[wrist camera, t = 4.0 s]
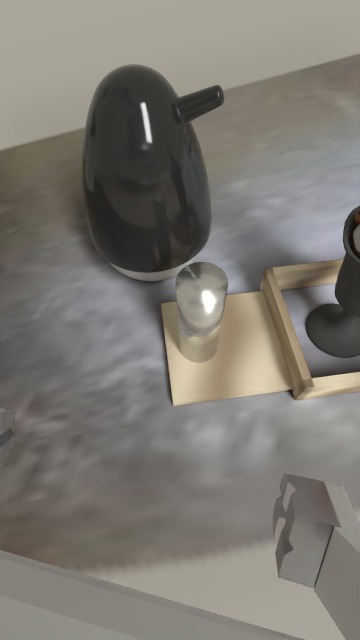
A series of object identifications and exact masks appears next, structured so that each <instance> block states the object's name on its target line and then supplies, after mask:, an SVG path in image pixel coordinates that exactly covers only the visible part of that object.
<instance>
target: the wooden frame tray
mask: <svg viewBox="0 0 360 640" xmlns="http://www.w3.org/2000/svg"><path fill="white" fill-rule="evenodd" d="M343 260H344V259H340V260H331V261H323V262H314V263H306V264H297V265H289V266H281V267H272V268H265V270H264V273H263V277H262V280H261V283H260V290H261V291H258V292H250V293H242V294H234V295H227V289H228V278H227V276H226V274H225V273H224V271H223V270H222V269H221V268H219V267H218V266H216V265H214V264H211V263H207V262H196V263H192V264H189V265H187V266H185V267H184V268H183V269H182V270H181V271H180V272H179V273H178V275H177V277H176V298H177V301H176V302H168V303H161V308H162V317H163V325H164V333H165V341H166V349H167V357H168V366H169V374H170V382H171V390H172V398H173V406H176V405H183V404H190V403H198V402H205V401H212V400H220V399H227V398H234V397H242V396H249V395H256V394H264V393H271V392H278V391H286V390H292V391H293V394H294V397H295V400H301V399H308V398H316V397H323V396H330V395H337V394H345V393H352V392H359V391H360V372H355V373H348V374H340V375H333V376H325V377H318V378H311V375H310V372H309V369H308V367H307V364H306V361H305V358H304V355H303V353H302V350H301V347H300V344H299V341H298V339H297V336H296V333H295V330H294V327H293V325H292V322H291V319H290V316H289V313H288V310H287V308H286V305H285V302H284V299H283V296H282V294H281V291H280V290H286V289H294V288H302V287H311V286H319V285H327V284H335V283H336V281H337V277H338V273H339V270H340V268H341V265H342V262H343Z"/></svg>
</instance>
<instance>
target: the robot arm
mask: <svg viewBox="0 0 360 640" xmlns="http://www.w3.org/2000/svg"><path fill="white" fill-rule="evenodd" d="M14 423H15V415H14V412H13V411H12V410H11V409H9V408H5V407H1V406H0V466H1V465H2V464H3V463H4V462H5V461H6V460H7V459H8V457H9V455H10V453H11V452H12V449H13V445H14V434H13V432H12V430H11V429H10V427H11V426H12V425H13V424H14ZM280 490H281V496H280V497H278V498H277V499H276V503H275V507H274V514H273V535H274V538H275V540H276V541H277V542H278V545H277V549H276V561H277V569H278V577H279V578H282V579H285V580H289V581H292V582H296V583H299V584H302V585H305V586H308V587H312V588H315V589H314V591H315V592H316V594H317V595H318V597H319V598H320V600H321V602H322V603H323V605H324V606H325V608H326V609H327V611H328V612H329V614H330V616H331V617H332V619H333V620H334V622H335V623H336V625H337V626H338V628H339V630H340V631H341V633H342V634H343V636H344V637H345V639H346V640H360V523H359V521H358V518H357V516H356V514H355V511H354V509H353V507H352V505H351V502H350V500H349V498H348V495H347V493H346V491H345V488H344V487H343V486H342V485H341V484H336V483H331V482H326V481H319V480H314V479H310V478H305V477H300V476H296V475H291V474H287V473H284V474H283V476H282V479H281V483H280ZM0 640H304V639H300V638H297V637H294V636H290V635H287V634H284V633H280V632H277V631H273V630H269V629H266V628H263V627H259V626H256V625H252V624H249V623H245V622H242V621H238V620H235V619H232V618H229V617H225V616H222V615H218V614H215V613H212V612H208V611H205V610H202V609H198V608H195V607H192V606H188V605H185V604H181V603H178V602H174V601H171V600H168V599H165V598H161V597H158V596H155V595H151V594H148V593H145V592H141V591H138V590H134V589H131V588H128V587H124V586H121V585H118V584H114V583H111V582H108V581H104V580H101V579H97V578H94V577H90V576H87V575H84V574H80V573H77V572H73V571H70V570H67V569H63V568H60V567H56V566H53V565H50V564H46V563H43V562H39V561H36V560H33V559H29V558H26V557H22V556H19V555H16V554H12V553H9V552H5V551H2V550H0Z"/></svg>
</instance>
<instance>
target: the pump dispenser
mask: <svg viewBox="0 0 360 640" xmlns="http://www.w3.org/2000/svg"><path fill="white" fill-rule="evenodd" d="M223 102H224V93H223V90H222V88H221V86H219V85H215V86H212V87H209V88H206V89H203V90H200V91H197V92H194V93H191V94H188V95H185V96H182V97H178V95H177V93H176V92H175V91H174V89H173V88H172V87H171V85H170V84H169V82H168V81H167V80H166V79H165V78H164V77H163V76H162V75H161V74H160V73H159V72H157V71H155V70H154V69H152V68H149V67H146V66H143V65H134V64H133V65H125V66H122V67H119V68H117V69H115V70H113V71H111V72H110V73H109V74H107V75H106V76H105V77H104V78H103V79H102V81H101V82H100V83H99V85H98V87H97V89H96V91H95V93H94V96H93V98H92V101H91V105H90V108H89V112H88V117H87V122H86V128H85V135H84V143H83V155H82V189H83V199H84V207H85V213H86V219H87V225H88V229H89V233H90V236H91V239H92V242H93V244H94V246H95V248H96V250H97V251H98V253H99V254H100V255H101V256H102V257H103V258H104V259H105V260H107V261H108V262H109V263H110V264H111V265H112V266H113V267H114V268H115V269H117V270H118V271H119V272H121V273H123V274H124V275H126V276H129V277H131V278H134V279H138V280H143V281H159V280H164V279H168V278H171V277H173V276H176V275H178V273H179V272H180V271H181V270H182V269H183V268H184V267H185V266H187V265H189V264H192V263H193V262H194V261H195V259H196V258H197V257H198V255H199V253H200V251H201V250H202V249H203V247H204V246H205V244H206V243H207V241H208V238H209V236H210V231H211V220H212V213H211V199H210V190H209V183H208V177H207V171H206V167H205V163H204V159H203V155H202V151H201V148H200V145H199V142H198V139H197V136H196V133H195V131H194V128H193V126H192V124H191V121H192V120H194V119H196V118H198V117H200V116H202V115H204V114H206V113H208V112H210V111H212V110H214V109H216V108H218V107H219V106H221V105H222V104H223Z"/></svg>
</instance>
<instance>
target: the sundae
mask: <svg viewBox="0 0 360 640" xmlns="http://www.w3.org/2000/svg"><path fill="white" fill-rule="evenodd" d="M343 243H344V248H345V251H346V254H345V257H344V260H343V262H342V265H341V268H340V270H339V273H338V277H337V281H336V286H335V297H336V299H337V301H338V303H339V304H340V305H338V304H326V305H321V306H319V307H317V308H316V309H314V310H313V311H312V312H311V313H310V315H309V316H308V319H307V331H308V334H309V336H310V338H311V340H312V341H313V342H314V344H315V345H316V346H317V347H319V348H320V349H321V350H323V351H324V352H326V353H328V354H330V355H332V356H337V357H342V358H348V357H354V356H358V355H359V354H360V206H359V207H357V208H355V209H353V210H352V212H351V213H350V214H349V216H348V218H347V220H346V221H345V225H344V231H343Z"/></svg>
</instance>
